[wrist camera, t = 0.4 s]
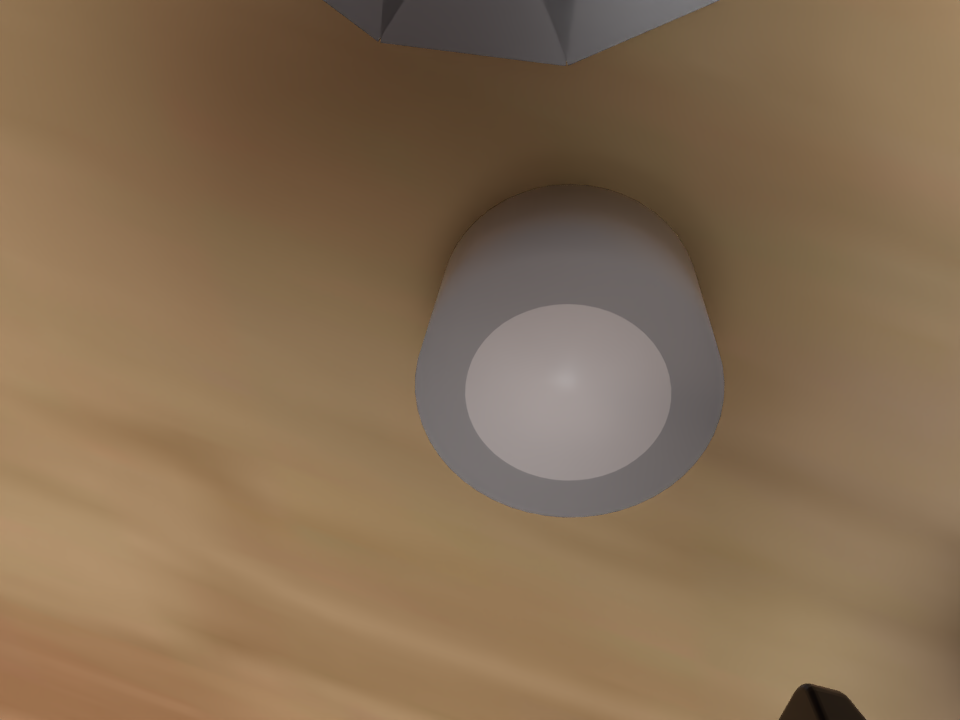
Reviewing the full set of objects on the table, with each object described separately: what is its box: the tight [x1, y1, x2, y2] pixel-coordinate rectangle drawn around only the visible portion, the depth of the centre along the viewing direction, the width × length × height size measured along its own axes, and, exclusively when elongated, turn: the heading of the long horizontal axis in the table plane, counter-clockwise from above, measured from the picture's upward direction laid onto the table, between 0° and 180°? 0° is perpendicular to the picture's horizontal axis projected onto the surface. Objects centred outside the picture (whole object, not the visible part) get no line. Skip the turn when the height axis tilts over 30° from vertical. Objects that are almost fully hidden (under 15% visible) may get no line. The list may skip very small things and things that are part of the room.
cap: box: [415, 184, 724, 517], centre depth 19 cm, size 6×6×4 cm
